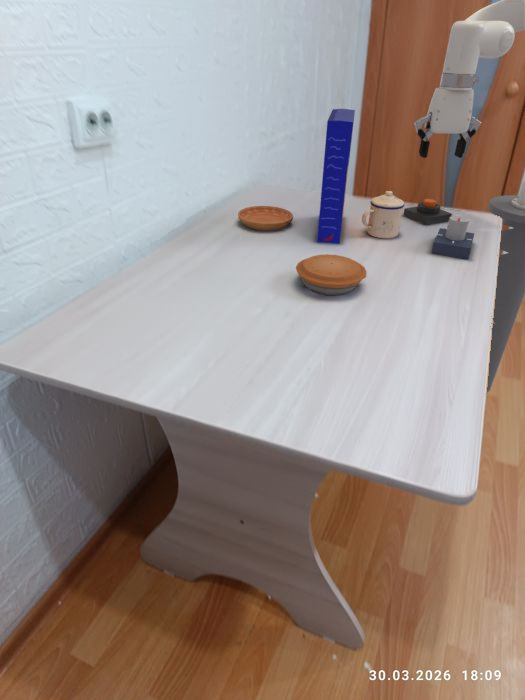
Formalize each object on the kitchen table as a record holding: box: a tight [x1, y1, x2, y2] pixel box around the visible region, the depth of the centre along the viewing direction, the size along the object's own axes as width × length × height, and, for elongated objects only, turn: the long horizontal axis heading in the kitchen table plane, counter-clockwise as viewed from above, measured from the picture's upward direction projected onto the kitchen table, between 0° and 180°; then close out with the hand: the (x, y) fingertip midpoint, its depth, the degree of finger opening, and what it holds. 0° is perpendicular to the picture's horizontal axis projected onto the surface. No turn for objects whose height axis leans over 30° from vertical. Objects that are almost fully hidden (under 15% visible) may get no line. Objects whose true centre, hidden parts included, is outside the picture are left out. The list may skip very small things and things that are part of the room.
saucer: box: [237, 205, 294, 232], centre depth 140 cm, size 16×16×3 cm
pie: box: [295, 253, 367, 296], centre depth 106 cm, size 15×16×5 cm
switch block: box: [402, 201, 453, 226], centre depth 147 cm, size 10×10×4 cm
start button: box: [423, 198, 437, 207], centre depth 145 cm, size 4×4×2 cm
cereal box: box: [316, 108, 356, 244], centre depth 129 cm, size 22×6×30 cm, turn 170°
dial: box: [445, 215, 470, 241], centre depth 124 cm, size 5×5×5 cm
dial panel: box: [431, 227, 475, 260], centre depth 126 cm, size 12×9×3 cm
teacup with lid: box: [361, 190, 405, 239], centre depth 132 cm, size 12×9×12 cm
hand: (440, 156), depth 126 cm, fingers open, 9 cm apart
